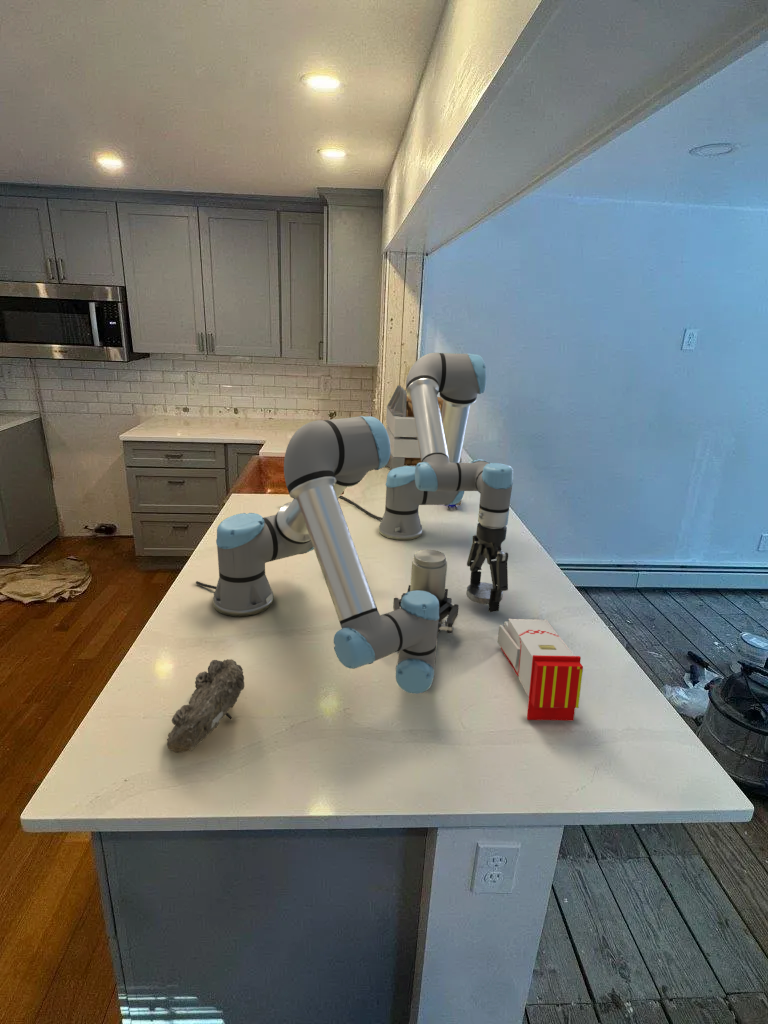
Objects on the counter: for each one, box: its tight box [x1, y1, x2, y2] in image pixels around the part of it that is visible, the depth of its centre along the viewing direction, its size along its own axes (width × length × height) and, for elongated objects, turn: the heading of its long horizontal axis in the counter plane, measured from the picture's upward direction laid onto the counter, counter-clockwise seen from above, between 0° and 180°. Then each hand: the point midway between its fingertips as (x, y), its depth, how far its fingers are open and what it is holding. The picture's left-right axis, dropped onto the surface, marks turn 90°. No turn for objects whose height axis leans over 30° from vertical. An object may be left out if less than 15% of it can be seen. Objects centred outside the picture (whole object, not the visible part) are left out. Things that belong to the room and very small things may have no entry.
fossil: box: [166, 658, 245, 754], centre depth 106 cm, size 22×10×15 cm
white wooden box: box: [385, 384, 463, 471], centre depth 268 cm, size 34×33×41 cm
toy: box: [497, 618, 584, 722], centre depth 122 cm, size 12×13×30 cm
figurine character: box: [447, 500, 462, 510], centre depth 230 cm, size 7×8×15 cm
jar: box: [410, 549, 448, 624], centre depth 141 cm, size 9×9×19 cm
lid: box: [465, 581, 504, 606], centre depth 152 cm, size 10×10×2 cm
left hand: (428, 591), depth 146 cm, fingers closed on jar, 9 cm apart
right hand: (483, 601), depth 153 cm, fingers closed on lid, 9 cm apart
